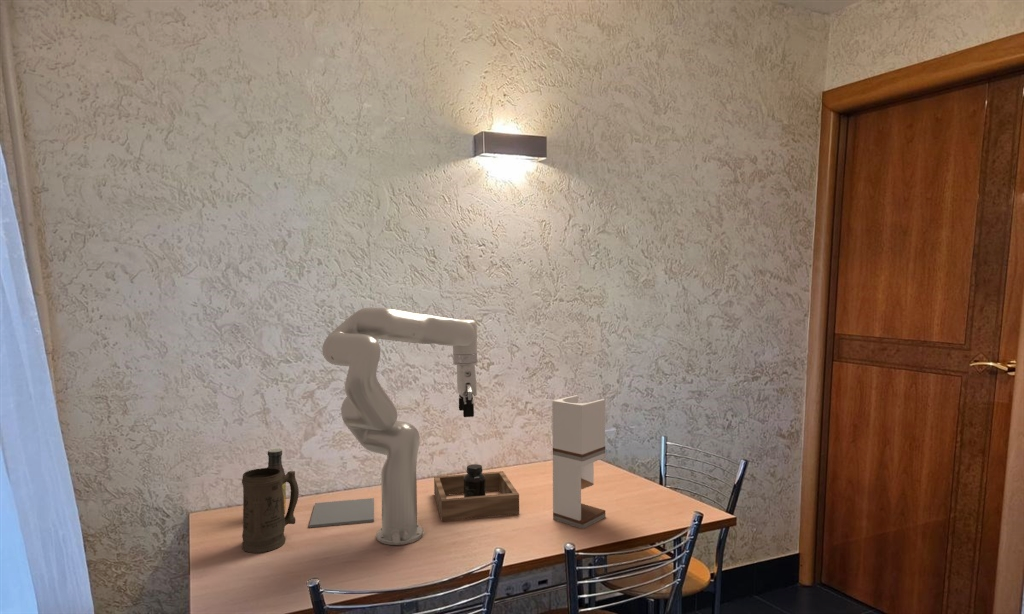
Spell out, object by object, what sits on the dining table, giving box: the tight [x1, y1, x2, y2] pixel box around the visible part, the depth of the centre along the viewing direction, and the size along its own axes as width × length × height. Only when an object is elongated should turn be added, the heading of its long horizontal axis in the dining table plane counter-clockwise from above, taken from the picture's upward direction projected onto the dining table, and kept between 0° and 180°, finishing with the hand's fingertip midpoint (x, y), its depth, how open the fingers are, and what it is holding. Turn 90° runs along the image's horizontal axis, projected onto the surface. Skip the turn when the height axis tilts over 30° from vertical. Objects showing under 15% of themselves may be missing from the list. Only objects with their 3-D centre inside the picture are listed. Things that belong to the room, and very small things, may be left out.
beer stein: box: [241, 467, 300, 554], centre depth 162 cm, size 15×11×20 cm
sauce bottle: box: [266, 448, 287, 515], centre depth 181 cm, size 7×6×20 cm
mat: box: [308, 497, 375, 529], centre depth 183 cm, size 18×18×1 cm
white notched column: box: [551, 394, 606, 530], centre depth 177 cm, size 11×11×35 cm
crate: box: [433, 471, 520, 522], centre depth 189 cm, size 23×23×6 cm
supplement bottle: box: [463, 463, 487, 497], centre depth 189 cm, size 7×7×12 cm
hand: (466, 413), depth 189 cm, fingers open, 9 cm apart
